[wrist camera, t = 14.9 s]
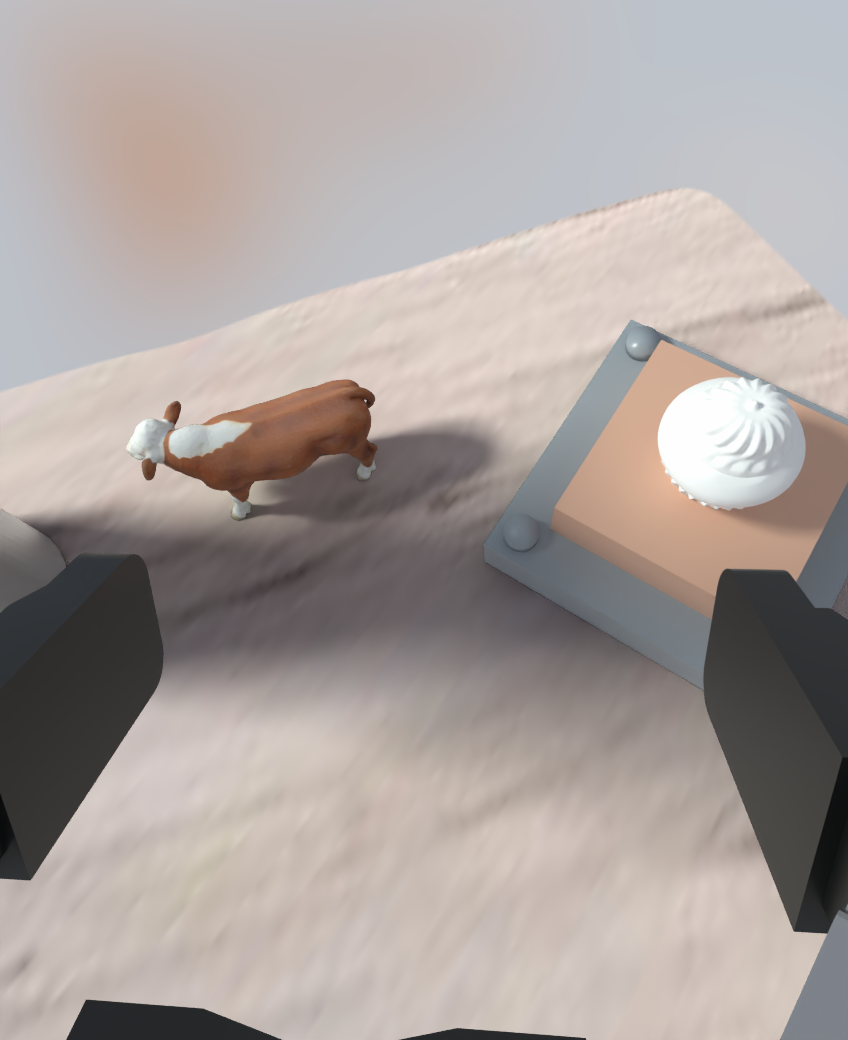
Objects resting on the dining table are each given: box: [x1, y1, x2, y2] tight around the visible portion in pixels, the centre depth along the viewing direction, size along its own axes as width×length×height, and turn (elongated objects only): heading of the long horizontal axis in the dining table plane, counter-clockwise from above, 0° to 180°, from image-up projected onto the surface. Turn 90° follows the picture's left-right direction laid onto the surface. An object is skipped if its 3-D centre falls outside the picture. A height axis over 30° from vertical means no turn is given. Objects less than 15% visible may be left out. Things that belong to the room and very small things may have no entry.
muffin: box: [658, 377, 806, 510], centre depth 33 cm, size 6×6×7 cm
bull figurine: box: [126, 380, 377, 520], centre depth 41 cm, size 4×13×8 cm, turn 102°
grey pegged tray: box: [484, 320, 848, 691], centre depth 39 cm, size 16×16×6 cm
